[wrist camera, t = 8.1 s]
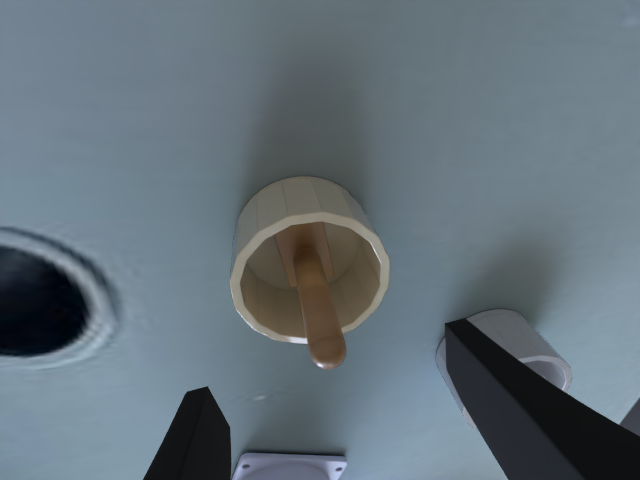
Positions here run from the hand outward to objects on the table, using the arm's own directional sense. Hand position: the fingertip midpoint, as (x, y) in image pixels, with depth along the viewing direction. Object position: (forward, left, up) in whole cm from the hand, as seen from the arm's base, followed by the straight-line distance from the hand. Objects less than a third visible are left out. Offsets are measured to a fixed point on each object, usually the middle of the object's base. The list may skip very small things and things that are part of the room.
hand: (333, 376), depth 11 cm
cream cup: (0, 0, -8) cm, 8 cm away
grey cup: (-5, -14, -8) cm, 17 cm away
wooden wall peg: (0, 0, -8) cm, 8 cm away
